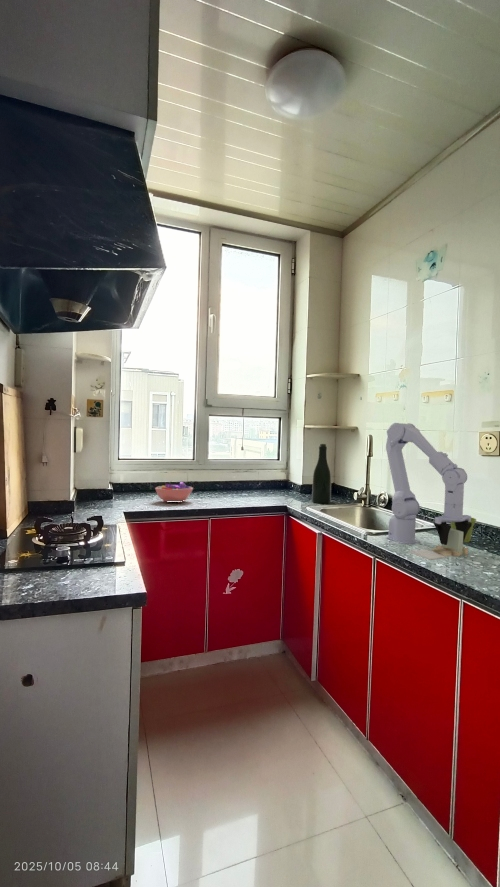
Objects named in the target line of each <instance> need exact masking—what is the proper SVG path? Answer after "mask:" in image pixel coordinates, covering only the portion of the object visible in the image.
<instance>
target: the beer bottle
mask: <svg viewBox="0 0 500 887" xmlns="http://www.w3.org/2000/svg"><path fill="white" fill-rule="evenodd" d="M327 447H328V446H327V444H326V443H320V444H319V446H318V458H317V463H316V465H315V467H314V470H313V474H312V487H311V489H312V491H311V501H312V502H313V503H315V504H320V505H321V504H323V505H326V504H330V503H331V500H332V475H331V474H332V473H331V469H330V466H329V464H328V459H327V458H328V457H327V456H328V454H327V452H328V448H327Z"/></svg>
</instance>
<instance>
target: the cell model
mask: <svg viewBox="0 0 500 887" xmlns="http://www.w3.org/2000/svg"><path fill="white" fill-rule="evenodd" d="M154 489H155V492H156V494H157V496H158V498H159V499H160V500H162V501H163V502H165V501H183V500H185V501H186V500H188V498H189V496H190V495H191V494H192V492H193V490H194V486H193V487H192V486H190V485H186V483H185V482H184V481H179V484H171V483H167V482H166V483H165V485H158V486H156V487H154ZM183 502H184V501H183Z"/></svg>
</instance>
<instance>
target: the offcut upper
mask: <svg viewBox="0 0 500 887" xmlns="http://www.w3.org/2000/svg"><path fill="white" fill-rule="evenodd" d="M432 551H434V552H437V553H440V554H442V556H443V555H451V553H452V551H449V550H446V549H443V548H440V547H439V548H436V547H433V550H432ZM440 554H439V555H440Z"/></svg>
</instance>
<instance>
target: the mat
mask: <svg viewBox="0 0 500 887" xmlns="http://www.w3.org/2000/svg"><path fill="white" fill-rule="evenodd" d="M431 551H432V550H427V549H425V548H424V549H423V548H422V549H415V550H408V553H410V554H412V555H415V556H419V557H420V558H423V559H426V560H428V561H432V560H433V561H434V560H440V559H446V558H447V556H443V555H440V554H437V553H434V552H431Z"/></svg>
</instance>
